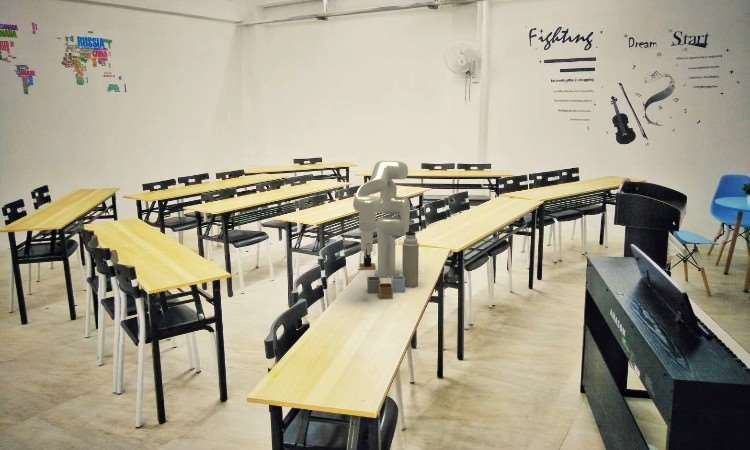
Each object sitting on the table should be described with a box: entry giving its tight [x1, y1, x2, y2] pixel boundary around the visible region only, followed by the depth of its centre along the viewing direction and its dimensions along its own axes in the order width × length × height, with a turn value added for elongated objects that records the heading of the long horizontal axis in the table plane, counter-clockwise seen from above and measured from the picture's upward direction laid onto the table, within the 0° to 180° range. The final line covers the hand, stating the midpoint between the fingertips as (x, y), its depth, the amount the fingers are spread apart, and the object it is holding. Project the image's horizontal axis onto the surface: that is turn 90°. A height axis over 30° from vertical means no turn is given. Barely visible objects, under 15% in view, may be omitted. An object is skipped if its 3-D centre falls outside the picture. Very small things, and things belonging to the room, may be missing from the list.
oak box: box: [377, 282, 394, 300], centre depth 256 cm, size 6×6×6 cm
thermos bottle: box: [401, 231, 420, 289], centre depth 269 cm, size 8×8×28 cm
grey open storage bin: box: [366, 275, 381, 294], centre depth 263 cm, size 6×6×7 cm
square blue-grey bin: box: [390, 275, 406, 294], centre depth 264 cm, size 6×6×7 cm
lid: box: [359, 262, 377, 271], centre depth 250 cm, size 7×7×6 cm
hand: (367, 264), depth 250 cm, fingers closed on lid, 2 cm apart
